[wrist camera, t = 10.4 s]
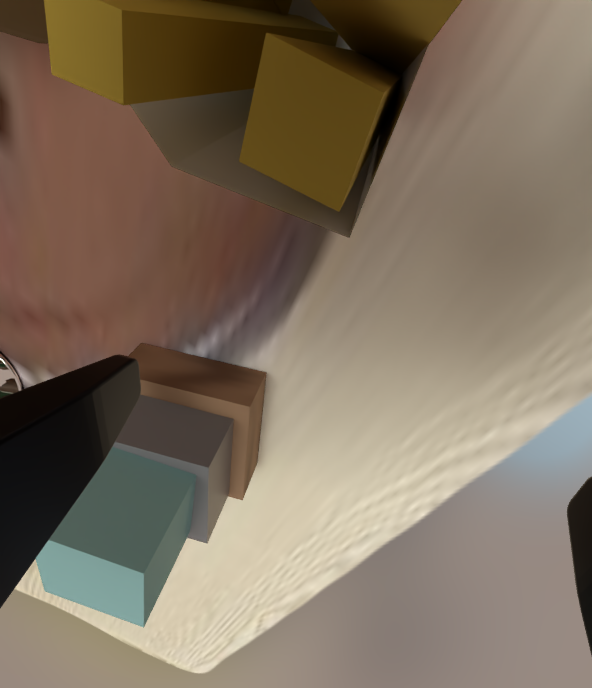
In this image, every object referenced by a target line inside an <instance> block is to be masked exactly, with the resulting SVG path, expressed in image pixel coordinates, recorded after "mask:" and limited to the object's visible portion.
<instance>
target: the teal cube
mask: <svg viewBox="0 0 592 688" xmlns="http://www.w3.org/2000/svg"><path fill="white" fill-rule="evenodd" d="M195 484H196V475H195V474H192V473H189V472H186V471H183V470H180V469H177V468H174V467H171V466H168V465H165V464H162V463H159V462H156V461H153V460H150V459H147V458H144V457H141V456H138V455H135V454H132V453H129V452H126V451H123V450H121V449H118V448H115V447H112V449H111V450H110V452H109V454H108V455H107V457H106V459H105V460H104V462H103V463H102V465H101V466H100V468H99V469H98V471H97V472H96V474H95V475H94V477H93V478H92V479H91V481H90V482H89V484H88V485H87V486H86V488H85V489H84V491H83V492H82V494H81V495H80V496H79V498H78V499H77V501H76V502H75V503H74V505H73V506H72V508H71V509H70V510H69V512H68V513H67V515H66V516H65V518H64V519H63V520H62V522H61V523H60V525H59V526H58V527H57V529H56V530H55V532H54V533H53V535H52V536H51V537H50V539H49V540H48V542H47V543H46V544H45V546H44V547H43V549H42V550H41V552H40V553H39V554H38V556H37V557H36V562H37V565H38V569H39V572H40V576H41V579H42V583H43V587H44V590H45V591H46V592H48V593H51V594H54V595H57V596H59V597H62V598H65V599H67V600H70V601H73V602H76V603H78V604H81V605H84V606H87V607H89V608H92V609H95V610H98V611H100V612H103V613H106V614H109V615H111V616H114V617H117V618H120V619H122V620H125V621H128V622H130V623H133V624H136V625H139V626H141V627H144V626H145V624H146V622H147V620H148V618H149V616H150V613H151V611H152V609H153V607H154V605H155V603H156V601H157V599H158V597H159V595H160V593H161V591H162V589H163V586H164V584H165V582H166V580H167V578H168V576H169V574H170V572H171V570H172V568H173V566H174V564H175V562H176V559H177V557H178V555H179V553H180V551H181V549H182V547H183V545H184V543H185V541H186V539H187V537H188V534H189V532H190V528H191V519H192V510H193V501H194V493H195Z"/></svg>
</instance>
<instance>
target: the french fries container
mask: <svg viewBox="0 0 592 688" xmlns="http://www.w3.org/2000/svg"><path fill="white" fill-rule="evenodd" d="M461 1H462V0H44V5H45V15H46V24H47V34H48V43H49V52H50V62H51V71H52V75H55V76H57V77H59V78H62V79H64V80H66V81H68V82H71V83H73V84H75V85H78V86H80V87H82V88H85V89H87V90H89V91H92V92H94V93H96V94H99V95H101V96H103V97H105V98H108V99H110V100H112V101H115V102H117V103H119V104H122V105H131V107H132V108H133V110H134V111H135V113H136V114H137V116H138V117H139V119H140V120H141V122H142V123H143V125H144V126H145V128H146V129H147V131H148V132H149V134H150V135H151V137H152V138H153V139H154V141H155V142H156V144H157V145H158V147H159V148H160V150H161V151H162V153H163V154H164V156H165V157H166V159H167V160H168V162H169V163H170V165H171V166H172V167H174V168H177V169H179V170H182V171H184V172H187V173H189V174H192V175H194V176H197V177H199V178H202V179H204V180H207V181H209V182H212V183H214V184H216V185H219V186H221V187H224V188H226V189H229V190H231V191H234V192H236V193H239V194H241V195H244V196H246V197H249V198H251V199H254V200H256V201H259V202H261V203H264V204H266V205H269V206H271V207H274V208H276V209H279V210H281V211H284V212H286V213H289V214H291V215H294V216H296V217H299V218H301V219H304V220H306V221H309V222H311V223H314V224H316V225H319V226H321V227H324V228H326V229H329V230H331V231H334V232H336V233H339V234H341V235H344V236H346V237H350V235H351V232H352V230H353V227H354V225H355V222H356V220H357V218H358V215H359V213H360V210H361V208H362V205H363V203H364V201H365V198H366V196H367V193H368V191H369V188H370V186H371V183H372V181H373V179H374V176H375V174H376V171H377V169H378V166H379V164H380V162H381V159H382V157H383V154H384V152H385V149H386V147H387V144H388V142H389V140H390V137H391V135H392V132H393V130H394V127H395V125H396V123H397V120H398V118H399V115H400V113H401V110H402V108H403V106H404V103H405V101H406V98H407V96H408V93H409V91H410V88H411V86H412V84H413V81H414V79H415V76H416V74H417V71H418V69H419V67H420V64H421V62H422V59H423V57H424V54H425V52H426V49H427V47H428V45H429V44H430V42H431V41H432V40H433V38H434V37H435V36H436V34H437V33H438V32H439V30H440V29H441V28H442V26H443V25H444V24H445V22H446V21H447V20H448V18H449V17H450V16H451V14H452V13H453V12H454V10H455V9H456V8H457V6H458V5H459V4H460V2H461Z"/></svg>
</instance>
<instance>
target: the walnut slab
mask: <svg viewBox="0 0 592 688" xmlns="http://www.w3.org/2000/svg"><path fill="white" fill-rule="evenodd" d="M128 357H132V358H135V359H136V360H137V361H138V363H139V371H140V382H141V394H140V395H144V396H148V397H152V398H156V399H159V400H163V401H167V402H171V403H175V404H178V405H182V406H186V407H190V408H194V409H198V410H201V411H205V412H209V413H213V414H217V415H220V416H224V417H228V418H232V419H234V423H233V439H232V455H231V471H230V486H229V494H228V496H229V497H233V498H236V499H240V500H243V498H244V495H245V493H246V490H247V488H248V485H249V482H250V480H251V477H252V475H253V472H254V470H255V467H256V465H257V460H258V450H259V441H260V431H261V421H262V411H263V402H264V392H265V382H266V372H262V371H257V370H253V369H249V368H245V367H241V366H236V365H232V364H228V363H224V362H220V361H215V360H211V359H207V358H203V357H199V356H194V355H190V354H186V353H182V352H177V351H173V350H169V349H165V348H161V347H156V346H152V345H148V344H144V343H141V344H140V345H139V346H138V347H137V348H136V349H135V350H134V351H133V352H132V353H131V354H130V355H129V356H128Z"/></svg>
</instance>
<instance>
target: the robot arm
mask: <svg viewBox="0 0 592 688" xmlns="http://www.w3.org/2000/svg"><path fill="white" fill-rule="evenodd" d="M140 394H141V382H140V371H139V363H138V361H137V360H136V359H135V358H132V357H128V356H124V355H114V356H111V357H109V358H106V359H103V360H101V361H98V362H95V363H93V364H90V365H87V366H85V367H82V368H79V369H76V370H74V371H71V372H68V373H66V374H63V375H60V376H58V377H55V378H52V379H50V380H47V381H44V382H42V383H39V384H36V385H34V386H31V387H28V388H26V389H23V390H20V391H18V392H15V393H12V394H10V395H7V396H4V397H2V398H0V608H1V607H2V605H3V604H4V602H5V601H6V599H7V598H8V597H9V595H10V594H11V593H12V591H13V590H14V588H15V587H16V585H17V584H18V583H19V581H20V580H21V578H22V577H23V576H24V574H25V573H26V571H27V570H28V569H29V567H30V566H31V564H32V563H33V561H34V560H35V559H36V557H37V556H38V554H39V553H40V552H41V550H42V549H43V547H44V546H45V544H46V543H47V542H48V540H49V539H50V537H51V536H52V535H53V533H54V532H55V530H56V529H57V527H58V526H59V525H60V523H61V522H62V520H63V519H64V518H65V516H66V515H67V513H68V512H69V510H70V509H71V508H72V506H73V505H74V503H75V502H76V501H77V499H78V498H79V496H80V495H81V494H82V492H83V491H84V489H85V488H86V486H87V485H88V484H89V482H90V481H91V479H92V478H93V477H94V475H95V474H96V472H97V471H98V469H99V468H100V466H101V465H102V463H103V462H104V460H105V459H106V457H107V455H108V454H109V452H110V450H111V449H112V447H113V445H114V443H115V441H116V440H117V438H118V436H119V434H120V432H121V430H122V429H123V427H124V425H125V423H126V421H127V420H128V418H129V416H130V414H131V412H132V411H133V409H134V407H135V405H136V403H137V402H138V400H139V397H140ZM567 518H568V526H569V534H570V542H571V550H572V557H573V565H574V573H575V581H576V587H577V594H578V598H579V604H580V608H581V613H582V617H583V621H584V626H585V630H586V634H587V638H588V642H589V646H590V651H591V655H592V477H590V478H588V479H587V481H586V482H585V483H584V484H583V486H582V487H581V488H580V490H579V491H578V492H577V493H576V494H575V495H574V497H573V498H572V499H571V501H570V502H569V505H568V508H567Z"/></svg>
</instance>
